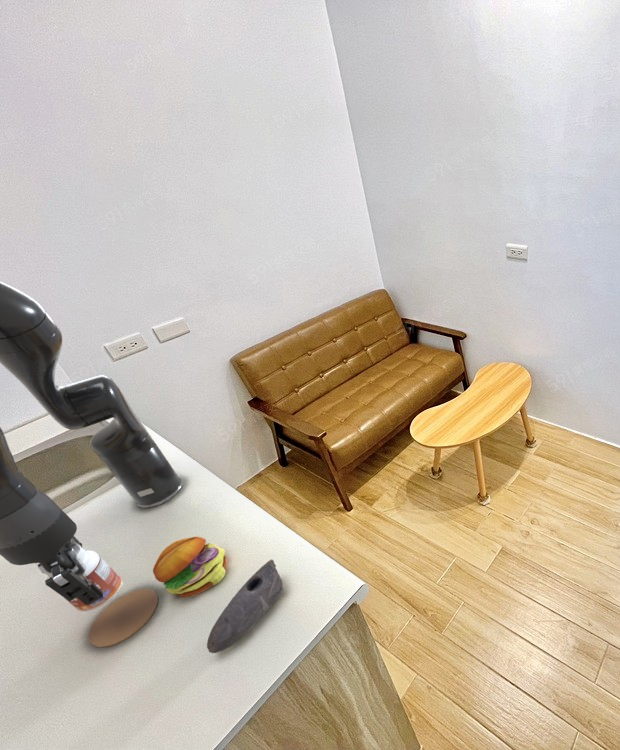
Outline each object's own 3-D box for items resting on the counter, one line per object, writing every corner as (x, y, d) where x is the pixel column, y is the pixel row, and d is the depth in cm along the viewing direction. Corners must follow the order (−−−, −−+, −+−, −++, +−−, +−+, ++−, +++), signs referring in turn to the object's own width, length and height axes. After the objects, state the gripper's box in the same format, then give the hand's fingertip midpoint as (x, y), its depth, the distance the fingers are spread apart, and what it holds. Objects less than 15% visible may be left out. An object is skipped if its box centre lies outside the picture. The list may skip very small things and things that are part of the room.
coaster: (86, 619, 72) (85, 618, 72) (152, 579, 78) (151, 578, 78) (93, 661, 66) (92, 660, 66) (164, 614, 72) (163, 613, 72)
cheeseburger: (203, 606, 73) (167, 577, 68) (165, 603, 76) (128, 574, 71) (243, 556, 81) (212, 527, 76) (207, 555, 84) (176, 527, 79)
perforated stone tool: (226, 666, 65) (208, 647, 61) (206, 652, 67) (187, 632, 63) (297, 583, 76) (286, 563, 73) (278, 573, 78) (266, 553, 74)
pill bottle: (71, 619, 64) (24, 583, 58) (86, 586, 69) (44, 549, 63) (117, 602, 66) (77, 565, 60) (128, 571, 71) (92, 534, 65)
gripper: (63, 535, 55) (128, 597, 64) (55, 485, 64) (113, 546, 73) (-14, 574, 51) (67, 634, 60) (-12, 514, 59) (59, 575, 68)
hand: (92, 585), depth 66 cm, fingers closed on pill bottle, 6 cm apart
